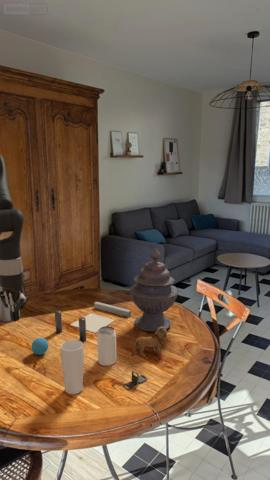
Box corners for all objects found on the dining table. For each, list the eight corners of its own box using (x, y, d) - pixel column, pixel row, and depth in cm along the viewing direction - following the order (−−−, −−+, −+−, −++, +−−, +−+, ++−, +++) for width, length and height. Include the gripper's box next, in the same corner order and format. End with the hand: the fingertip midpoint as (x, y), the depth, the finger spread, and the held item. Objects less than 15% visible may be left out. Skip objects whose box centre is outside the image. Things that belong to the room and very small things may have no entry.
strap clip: (142, 376, 113) (142, 364, 112) (148, 380, 111) (148, 368, 110) (121, 387, 108) (121, 374, 107) (127, 391, 105) (127, 379, 104)
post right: (78, 340, 136) (77, 319, 134) (82, 337, 138) (81, 316, 136) (83, 342, 134) (82, 320, 133) (87, 339, 137) (86, 318, 135)
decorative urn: (120, 330, 142) (124, 247, 136) (138, 314, 160) (143, 240, 155) (167, 341, 135) (174, 254, 129) (180, 323, 153) (187, 246, 147)
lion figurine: (162, 344, 132) (162, 323, 130) (170, 351, 127) (170, 328, 125) (128, 354, 126) (127, 331, 124) (134, 361, 121) (134, 338, 119)
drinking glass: (64, 383, 109) (61, 340, 106) (85, 382, 109) (83, 339, 106) (61, 397, 102) (58, 351, 99) (84, 396, 103) (82, 350, 100)
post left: (54, 332, 143) (53, 312, 141) (59, 329, 145) (57, 309, 143) (59, 333, 141) (57, 313, 140) (63, 331, 144) (62, 311, 142)
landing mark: (70, 325, 149) (70, 324, 149) (91, 313, 161) (91, 313, 161) (95, 333, 142) (95, 332, 142) (115, 320, 153) (115, 320, 153)
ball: (28, 355, 126) (27, 339, 124) (41, 347, 131) (39, 333, 129) (39, 359, 123) (38, 344, 121) (52, 352, 127) (51, 337, 126)
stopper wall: (94, 307, 167) (94, 303, 167) (96, 306, 169) (96, 301, 168) (128, 317, 156) (128, 312, 156) (130, 315, 158) (130, 310, 158)
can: (113, 367, 117) (113, 335, 115) (95, 365, 119) (94, 333, 116) (118, 357, 124) (117, 326, 121) (101, 355, 125) (100, 324, 122)
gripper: (-13, 270, 112) (-7, 320, 116) (14, 277, 105) (19, 329, 109) (7, 265, 118) (11, 312, 122) (33, 271, 111) (37, 320, 115)
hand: (15, 320), depth 115 cm, fingers closed
